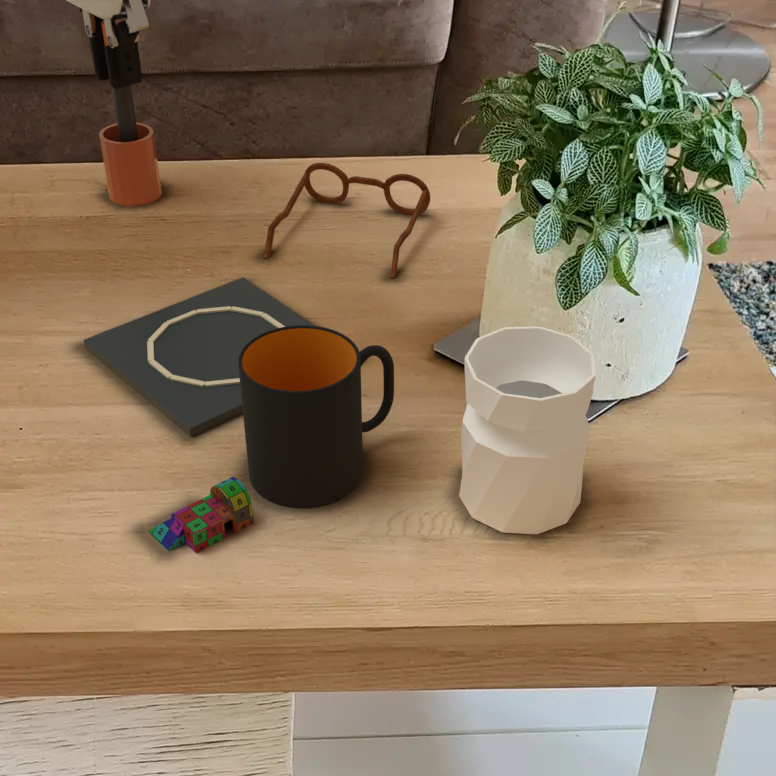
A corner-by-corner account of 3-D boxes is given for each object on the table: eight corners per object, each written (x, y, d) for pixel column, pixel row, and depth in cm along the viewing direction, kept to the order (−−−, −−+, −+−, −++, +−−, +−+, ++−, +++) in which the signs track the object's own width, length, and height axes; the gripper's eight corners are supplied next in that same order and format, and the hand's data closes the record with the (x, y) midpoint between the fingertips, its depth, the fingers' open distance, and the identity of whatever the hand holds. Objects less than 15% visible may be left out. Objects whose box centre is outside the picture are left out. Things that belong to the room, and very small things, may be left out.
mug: (426, 463, 87) (428, 347, 80) (288, 528, 81) (279, 407, 75) (362, 410, 92) (360, 296, 86) (228, 466, 86) (215, 349, 80)
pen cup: (126, 214, 117) (116, 148, 112) (100, 196, 120) (89, 131, 115) (171, 199, 120) (163, 134, 115) (144, 181, 122) (135, 117, 118)
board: (191, 441, 88) (189, 426, 87) (85, 351, 97) (82, 337, 96) (355, 363, 97) (355, 349, 96) (244, 288, 106) (242, 274, 105)
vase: (513, 446, 89) (524, 311, 81) (604, 499, 84) (624, 362, 77) (433, 498, 84) (436, 359, 76) (524, 558, 79) (538, 417, 72)
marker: (127, 158, 116) (107, 26, 108) (117, 152, 117) (97, 21, 109) (144, 153, 117) (126, 22, 109) (134, 147, 118) (115, 16, 110)
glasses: (431, 219, 118) (432, 173, 114) (394, 282, 108) (394, 233, 104) (307, 201, 120) (305, 156, 117) (260, 261, 110) (256, 213, 107)
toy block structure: (221, 497, 83) (216, 460, 81) (254, 527, 81) (250, 489, 79) (147, 534, 80) (140, 497, 78) (179, 566, 78) (173, 528, 76)
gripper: (3, -139, 103) (43, 66, 115) (94, -103, 94) (128, 116, 106) (80, -150, 107) (111, 49, 119) (174, -117, 98) (198, 95, 110)
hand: (119, 79), depth 112 cm, fingers closed on marker, 2 cm apart
